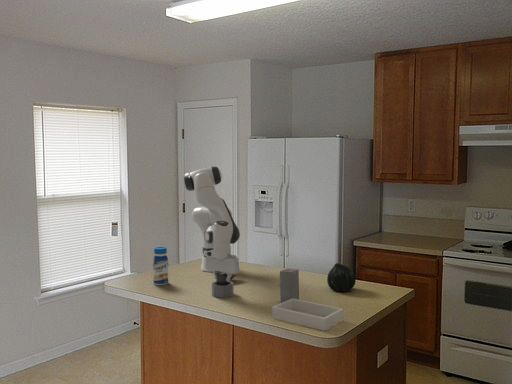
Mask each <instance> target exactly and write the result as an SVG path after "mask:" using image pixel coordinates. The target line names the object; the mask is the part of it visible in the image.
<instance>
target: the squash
mask: <svg viewBox="0 0 512 384" xmlns="http://www.w3.org/2000/svg"><path fill="white" fill-rule="evenodd" d="M326 279H327V281H326V282H327V285H328V287H329V288H330V289H331V290H332V291H336V292H338V293H341V292H343V293H347V292H348V291H351V290H352V289H353V288H354V287H355V285H356V275H355V273H354V271H353V270H352V269H350V268H349V267H348V266H346V265H345V264H344V265H343V264H342V263H335V264H334V265H333V266H332V268H331V269H330V270H329V272H328V274H327V278H326Z"/></svg>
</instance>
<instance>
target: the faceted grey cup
mask: <svg viewBox="0 0 512 384" xmlns="http://www.w3.org/2000/svg"><path fill="white" fill-rule="evenodd" d="M234 294H235V293H234V281H232V280H231V281H229V282H228V284H226V285H218V284H216V281H212V283H211V296H212V297H213V298H219V299H226V298H227V299H228V298H231V297H234Z"/></svg>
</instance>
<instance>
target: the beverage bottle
mask: <svg viewBox="0 0 512 384" xmlns="http://www.w3.org/2000/svg"><path fill="white" fill-rule="evenodd" d="M153 249H154V250H153V252H154V253H153V254H154V257H153V259H152V261H153V263H152V267H153V284H154V286H155V285H156V286H164V285H168V284H169V262H168V261H169V257H168V256H167V252H168V251H167V250H168V249H167V247H165V246H156V247H154V248H153Z"/></svg>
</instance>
